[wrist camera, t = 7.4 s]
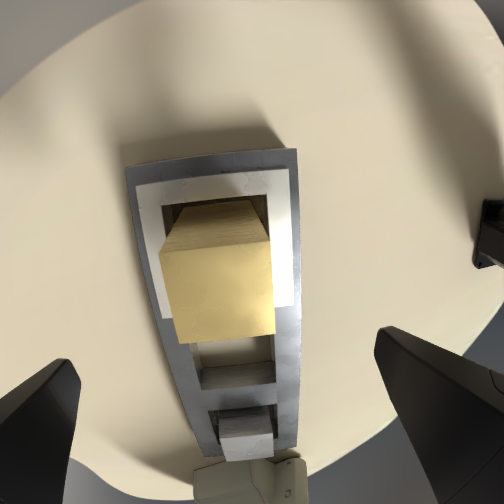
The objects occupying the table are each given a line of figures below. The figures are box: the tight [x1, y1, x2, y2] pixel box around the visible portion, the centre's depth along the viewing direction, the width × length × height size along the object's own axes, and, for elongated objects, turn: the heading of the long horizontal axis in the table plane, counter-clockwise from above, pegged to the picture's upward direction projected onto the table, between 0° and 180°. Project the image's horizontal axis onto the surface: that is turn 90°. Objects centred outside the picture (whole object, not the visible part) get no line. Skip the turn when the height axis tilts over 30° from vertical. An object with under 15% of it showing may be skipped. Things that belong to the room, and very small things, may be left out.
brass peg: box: [158, 200, 276, 344], centre depth 15 cm, size 4×4×8 cm
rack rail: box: [125, 148, 301, 457], centre depth 20 cm, size 9×26×3 cm, turn 4°
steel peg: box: [218, 405, 274, 462], centre depth 22 cm, size 4×4×5 cm
